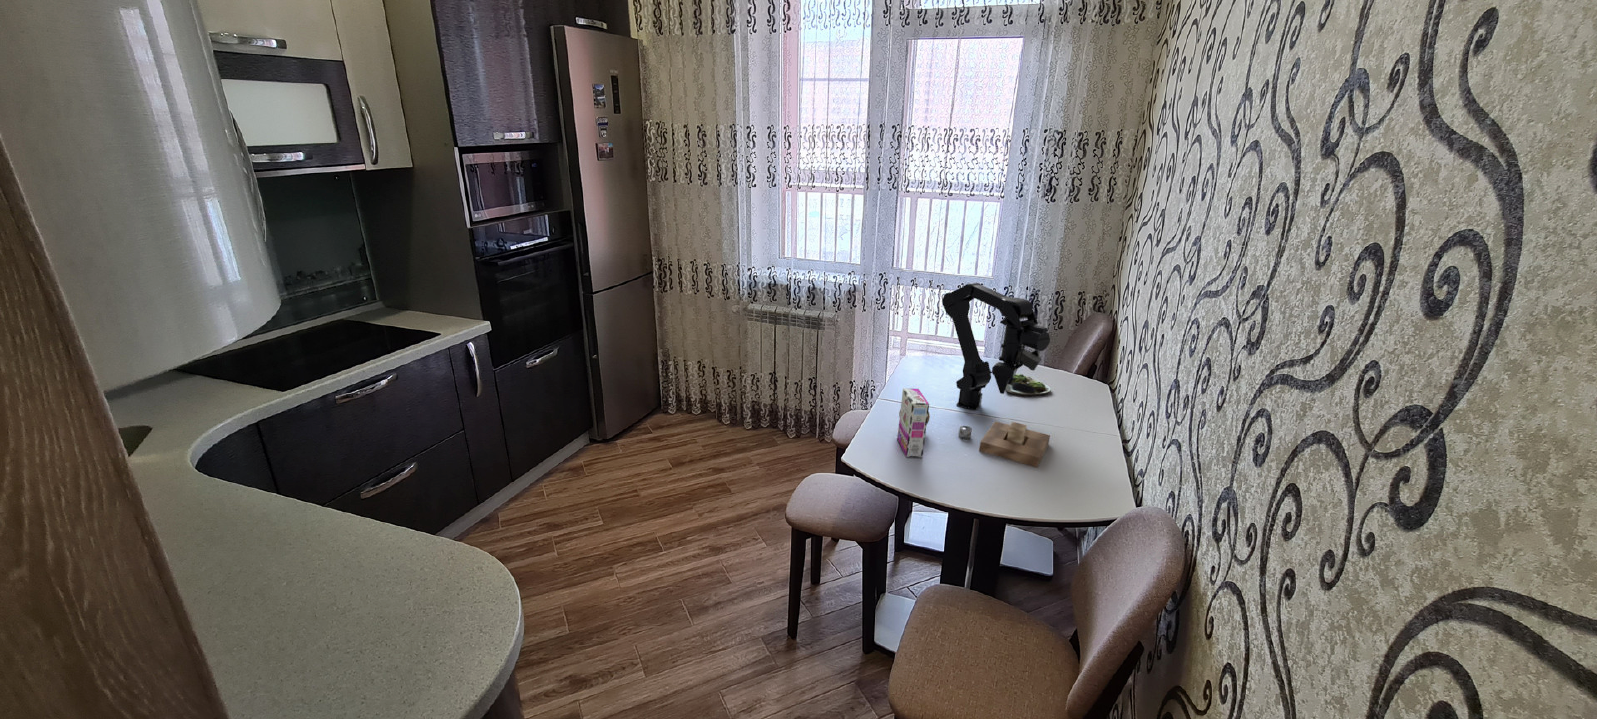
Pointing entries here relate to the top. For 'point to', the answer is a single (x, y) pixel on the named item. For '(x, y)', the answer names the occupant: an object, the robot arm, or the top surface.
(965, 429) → the grey metal cylinder
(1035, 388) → the salad plate
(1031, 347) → the robot arm
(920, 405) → the candy bar box
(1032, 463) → the hole block
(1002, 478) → the top surface
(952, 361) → the top surface
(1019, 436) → the tan cardboard cuboid
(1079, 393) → the top surface
